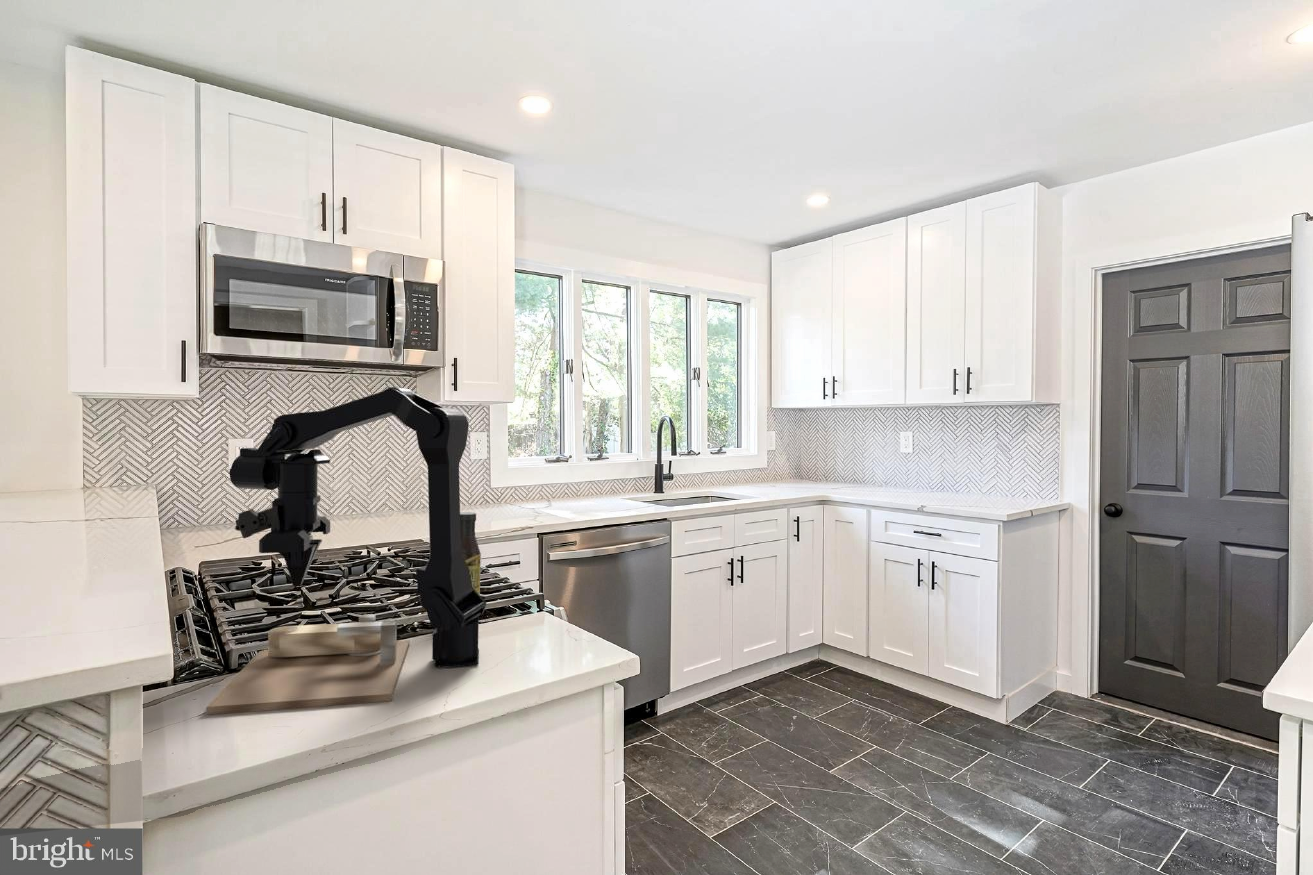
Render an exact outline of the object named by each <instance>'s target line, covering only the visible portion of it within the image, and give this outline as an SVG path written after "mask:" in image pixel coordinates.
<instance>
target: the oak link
mask: <svg viewBox="0 0 1313 875" xmlns="http://www.w3.org/2000/svg"><path fill="white" fill-rule="evenodd" d="M375 622H378V621H377V620H375ZM339 624H340V623H329V624H328V623H324V624H305V625H302V624H301V625H285V626H283V625H282V626H279V627H274V628H272V629H270V630H268V634H267V635H268V636H267V638H268V644H267V645H268V646H267V648H268V655H269V656H270V657H292V656H309V655H327V654H344V653H359V654H363V653H372V652H376V651H379V650H380V644H381V634H362V635H343V636H337V627H338V626H339Z"/></svg>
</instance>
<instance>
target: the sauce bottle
mask: <svg viewBox="0 0 1313 875" xmlns="http://www.w3.org/2000/svg"><path fill="white" fill-rule="evenodd" d="M476 521H477V513H476V512H472V511H460V528H461V553H462V555H463V557H464V559H465V561H466V563H467V565H468V567H469V571H470V576H471V581H472V587H473V588H474V589H475V590H476V592H477V593H478V594H479V595H480V594H481V590H480V588H481V564H482V563H481V562H482V552H481V551H480V550H481V549H480V547H479V543H478V540H477V537H476ZM480 596H481V595H480Z"/></svg>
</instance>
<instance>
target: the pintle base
mask: <svg viewBox="0 0 1313 875" xmlns="http://www.w3.org/2000/svg"><path fill="white" fill-rule="evenodd" d="M375 621H376V614H373V613H370V614H369V613H368V614H362V615H359V617H358V622H345V623H338V624H339V626H338V627H337V636H343V635H362V634H381V644H380V650H379V651H376V652H372V653H363V654H359V653H344V654H327V655H309V656H292V657H270V656H269V655H268V650H264V651H260V650H259V651H258V652H257V653H256V654H255V655H254V656H253V657H252V658H251V660H249V661H248V663H247V664H246V665H245V666H244V667H243V668H242V669H241V670H240V671H239V672H238V673H237V674H236V675H235V676H234V678H232V679H231V681H230V682H228V683H227V685H226V686H225V687H224V688H223V689H221V691H220V692H219V693H218V694H217V695H216V696H215V697H214V698H213V699H212V700H211V702H210V703H208V705H206V708H205V709H206V710H205V711H206V712H205V713H206V716H209V715H221V714H233V713H234V714H235V713H245V712H246V713H247V712H260V711H261V712H262V711H272V710H273V711H274V710H288V709H301V708H303V709H304V708H314V707H315V708H316V707H326V706H327V707H329V706H341V705H354V704H355V705H357V704H368V703H381V702H382V703H383V702H391V701H392V700H393V697H394V693H395V691H396V688H397V685H398V682H399V678H400V677H401V672H402V670H403V667H404V664H405V660H406V658H407V655H408V651H409V649H410V645H411V644H410V639H404V640H402V639H401V640H397V630H398V626H397V625H398V624H397V620H387V621H377V622H375Z"/></svg>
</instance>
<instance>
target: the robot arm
mask: <svg viewBox="0 0 1313 875" xmlns="http://www.w3.org/2000/svg"><path fill="white" fill-rule="evenodd" d="M393 416H394V417H396V418H397V420H399V421H400V422H401V424H403V425H404V426H406V427H408V428H409V429H411V430H413V431H415V434H416V440H417V445H418V450H419V451H420V453H421V455H422V457H423V459H424V461H425V463H426V467H427V486H428V489H427V491H428V492H427V493H428V523H429V524H428V525H429V526H428V528H429V529H428V530H429V558H428V561H427V563H426V565H424V566H422V567H420V568H417V569H416V571H415V576H416V584H417V586H416V593H415V597H418V596H419V602H420V605H421V607H422V608H423V609H424V610H425V611H426V614H427V618H428V621H429V624H430V626H431V628H432V629H433V632H432V644H431V646H432V648H431V649H432V650H431V651H432V652H431V655H432V656H431V657H432V658H431V659H432V661H434V668H451V667H466V666H467V667H468V666H477V665H479V663H480V662H479V660H480V659H479V658H480V649H479V627H480V625H479V620H480V619H479V618H480V617H479V616H482V615H484V612H485V609H486V607H487V602H486V600H485V599H484V598H483V596H481V595H479V594H478V593H477V592H476V590H475V589H474V588H473V587H472V581H471V576H470V571H469V567H468V565H467V563H466V561H465V559H464V557H463V555H462V553H461V528H460V512H461V494H460V493H461V492H460V464H461V460H462V457H463V455H464V452H465V450H466V447H467V441H468V433H469V420H468V418H467V416H466V415H465V414H464V413H463V412H462V411H460V410H458V409H456V408H451V407H443V406H442V405H440V404H438V403H436V402H434V401H431V400H429V399H427V398H425V397H422V396H420V395H418V393H415V392H413V391H412V390H411V389H409V388H406V387H397V386H396V387H395V386H391V387H388V388H387V387H386V389H384V390H383V391H382V390H381V391H380V392H376V393H374V394H371V395H368V396H364V397H360V398H358V399H355V400H352V401H349V402H345V403H343V404H339V405H336V406H333V407H331V408H330V407H329V408H326V409H324V410H318V411H316V410H315V411H306V412H296V413H295V412H294V413H287V414H281V415H279V416H277V417H276V418H275V419H273V424H272V426H271V429H270V430H269V432H268V434H267V435H266V437H265V438H264V439H263V441H262V442H261V444H260V445H259V446H258V448H257V447H256V448H255V447H242V448H240V449H239V456H237V457H236V458H235V459H234V460H233V462H232V464H231V468H230V469H229V480H230V481H231V483H232V485H233V486H234V487H236V488H238V489H242V490H261V491H262V490H263V491H264V490H265V491H266V490H267V491H272V490H273V491H274V490H276V489H277V498H274V499H273V500H272V502H271V507H269V508H266V509H264V510H260V511H256V510H254V509H253V508H251V509H248V510H244V511H242V512H239V513H238V518H237V519H236V520H235V521H234V522H235V526H234V529H235V530H236V531H238V532H240V534H241V536H242V538H243V539H247V538H249V537H252V536H253V535H254V534H257V533H260V532H263V531H267V530H269V529H270V531H269V532H267V533H266V534H265V535H264V536H262V537H261V538H260V539H259V540H258V553H260V554H279V555H281V556H282V557H283V559H284V562H285V565H286V567H287V570H288V574H289V577H290V580H291V583H292V587H301V586H302V584H303V583H304V580H305V578H306V576H307V574H308V571H309V569H310V567H311V564H312V563H313V561H314V558H315V556H316V553H317V552H318V550H319V547H320V546H321V543H322V542H323V539H321V538H319V539H315V538H314V536H313V535H312V533H322V535H328V534H330V533H331V521H330V520H329V519H328V518H327V517H326V516H318V503H320V502H321V495H318V475H319V473H318V470H319V469H318V468H319V467H318V465H326V464H330V463H331V459H330V458H329V457H328V456H327V455H325V454H324V453H323V452H322V450H321V449H319V448H318V447H320V446H322V445H324V444H325V443H328V442H330V441H332V439H333V438H334V437H336V435H338V434H340V433H342V432H345V431H348V430H351V429H355V428H358V427H361V426H364V425H367V424H370V423H373V422H376V421H379V420H382V419H386V418H390V417H393ZM317 448H318V449H317ZM306 450H309V451H308V452H307V453H303V452H304V451H306ZM287 455H288V456H287ZM286 456H287V457H286ZM313 538H314V539H313Z"/></svg>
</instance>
